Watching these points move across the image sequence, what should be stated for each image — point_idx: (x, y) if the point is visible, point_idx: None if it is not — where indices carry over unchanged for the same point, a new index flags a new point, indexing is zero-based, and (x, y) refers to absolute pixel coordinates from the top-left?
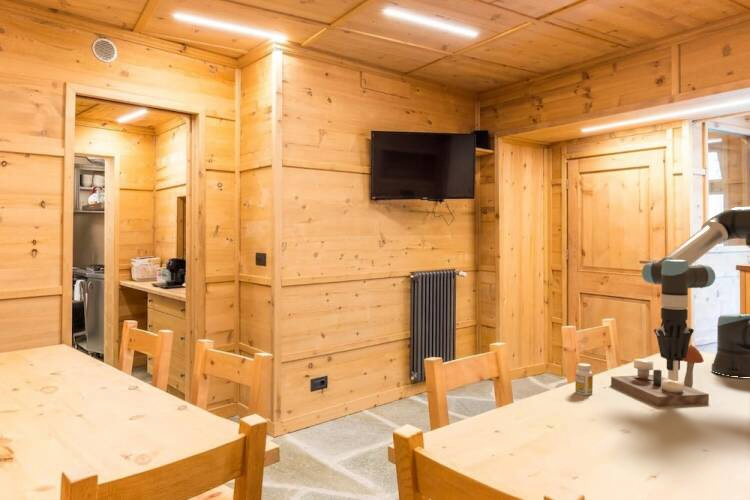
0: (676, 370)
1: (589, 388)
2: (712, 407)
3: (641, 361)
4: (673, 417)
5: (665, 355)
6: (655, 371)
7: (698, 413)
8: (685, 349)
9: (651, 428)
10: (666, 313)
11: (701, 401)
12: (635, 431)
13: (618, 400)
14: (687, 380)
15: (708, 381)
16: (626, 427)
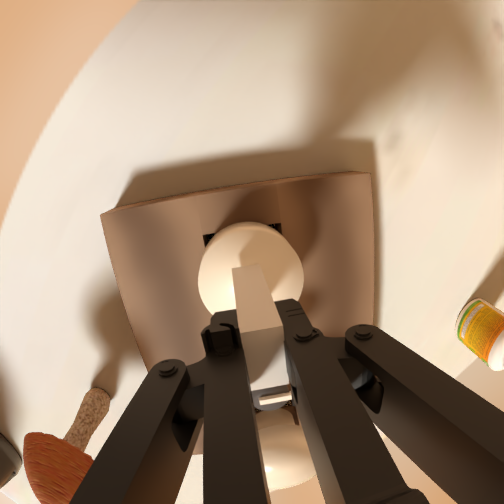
0: (250, 293)
1: (484, 307)
2: (128, 156)
3: (299, 464)
4: (363, 55)
5: (392, 339)
6: (287, 386)
7: (239, 80)
8: (147, 421)
9: (454, 13)
10: None
11: (144, 202)
12: (485, 18)
13: (436, 250)
14: (98, 405)
15: (35, 419)
16: (495, 42)
